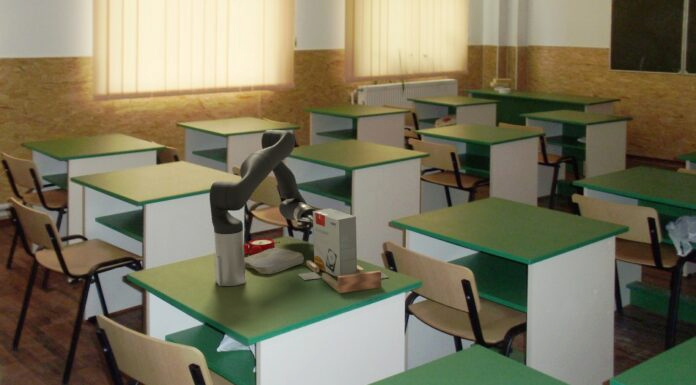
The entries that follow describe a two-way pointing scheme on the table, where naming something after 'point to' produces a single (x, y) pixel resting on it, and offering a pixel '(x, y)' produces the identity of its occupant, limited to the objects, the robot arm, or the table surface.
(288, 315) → the table surface
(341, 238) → the hard drive box
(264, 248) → the alarm clock
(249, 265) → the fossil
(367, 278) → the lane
